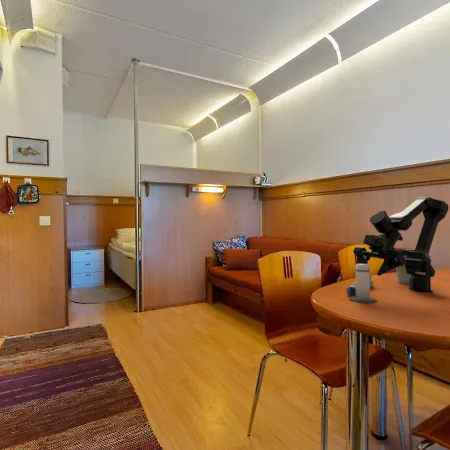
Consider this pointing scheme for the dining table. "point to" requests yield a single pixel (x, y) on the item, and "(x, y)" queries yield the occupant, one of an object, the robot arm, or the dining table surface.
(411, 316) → the dining table surface
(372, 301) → the pad
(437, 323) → the dining table surface
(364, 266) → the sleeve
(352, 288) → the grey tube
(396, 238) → the robot arm
